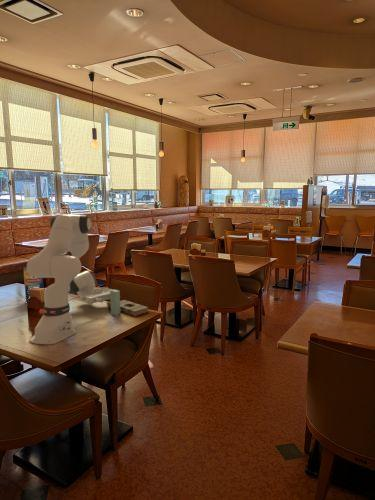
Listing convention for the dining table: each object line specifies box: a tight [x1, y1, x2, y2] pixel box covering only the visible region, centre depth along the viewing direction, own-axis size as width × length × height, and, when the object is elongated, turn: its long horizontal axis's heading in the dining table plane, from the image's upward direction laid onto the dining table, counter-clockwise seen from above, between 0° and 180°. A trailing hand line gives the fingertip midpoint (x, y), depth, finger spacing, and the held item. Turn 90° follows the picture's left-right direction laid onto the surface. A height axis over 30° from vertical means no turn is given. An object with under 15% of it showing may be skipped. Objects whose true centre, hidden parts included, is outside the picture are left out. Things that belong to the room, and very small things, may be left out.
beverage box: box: [23, 266, 44, 303], centre depth 233 cm, size 7×11×22 cm, turn 113°
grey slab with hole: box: [120, 299, 149, 317], centre depth 215 cm, size 22×10×3 cm, turn 47°
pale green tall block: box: [109, 289, 121, 316], centre depth 207 cm, size 5×3×14 cm, turn 47°
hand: (109, 299), depth 210 cm, fingers open, 8 cm apart
